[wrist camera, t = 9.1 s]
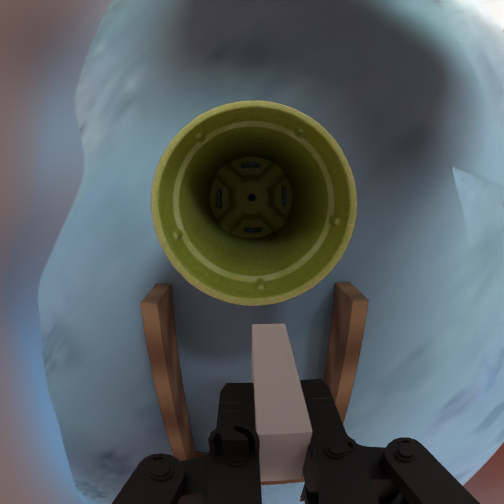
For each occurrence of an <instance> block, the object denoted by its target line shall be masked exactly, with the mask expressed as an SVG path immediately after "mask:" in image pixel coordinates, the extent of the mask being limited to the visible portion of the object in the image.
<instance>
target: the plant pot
mask: <svg viewBox="0 0 504 504" xmlns="http://www.w3.org/2000/svg"><path fill="white" fill-rule="evenodd" d="M251 162H255V163H259V165H260V166H259V168H256V167H245V168H241V167H240V166H241V165H242V164H243V163H244V164H246V163H251ZM282 187H283V188H285V190H286V194H287V203H286V204H285V205H282V204H281V202H282ZM219 189H220V190H221V191H222V193H221V203H222V208H221V209H220V208H219V207H218V206H217V204H216V194H217V191H218V190H219ZM250 194H253V195H255V197H256V199H255V200H254V201H250V200H249V199H248V197H249V195H250ZM151 210H152V218H153V223H154V228H155V231H156V235H157V238H158V240H159V243H160V245H161V247H162V249H163V251H164V253H165V254H166V256H167V258H168V259H169V261H170V262H171V264H172V265H173V266H174V267H175V269H176V270H177V271H178V272H179V273H180V274H181V275H182V276H183V277H184V278H185V279H186V280H187V281H188V282H189V283H190V284H191V285H193V286H194V287H196V288H197V289H199V290H200V291H202V292H204V293H205V294H207V295H209V296H211V297H214V298H216V299H219V300H222V301H225V302H229V303H233V304H237V305H246V306H258V305H270V304H275V303H280V302H283V301H286V300H289V299H292V298H294V297H296V296H298V295H301V294H302V293H304V292H306V291H308V290H309V289H311V288H313V287H314V286H315V285H317V284H318V283H319V282H320V281H321V280H322V279H324V278H325V277H326V276H327V275H328V274H329V273H330V272H331V271H332V269H333V268H334V267H335V266H336V264H337V263H338V262H339V260H340V259H341V257H342V256H343V254H344V253H345V251H346V249H347V247H348V244H349V242H350V239H351V237H352V234H353V230H354V226H355V221H356V215H357V195H356V186H355V181H354V177H353V173H352V171H351V168H350V165H349V163H348V161H347V159H346V157H345V155H344V153H343V151H342V149H341V148H340V146H339V145H338V143H337V142H336V141H335V139H334V138H333V137H332V136H331V135H330V133H329V132H328V131H327V130H326V129H325V128H323V127H322V126H321V125H320V124H319V123H318V122H316V121H315V120H313V119H312V118H311V117H309V116H307V115H306V114H304V113H302V112H300V111H298V110H296V109H294V108H291V107H289V106H286V105H283V104H279V103H275V102H269V101H258V100H256V101H239V102H233V103H229V104H225V105H222V106H219V107H216V108H213V109H211V110H209V111H207V112H205V113H203V114H201V115H199V116H198V117H196V118H195V119H194V120H192V121H191V122H190V123H188V124H187V125H186V126H185V127H184V128H183V129H182V130H181V131H180V132H178V134H177V135H176V136H175V137H174V138H173V139H172V141H171V142H170V143H169V145H168V147H167V148H166V150H165V151H164V153H163V155H162V157H161V159H160V161H159V163H158V166H157V169H156V172H155V175H154V179H153V184H152V192H151ZM258 227H262V228H263V229H262V231H260V232H252V233H250V232H246V231H245V229H244V228H258Z"/></svg>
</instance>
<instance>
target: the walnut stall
mask: <svg viewBox="0 0 504 504" xmlns="http://www.w3.org/2000/svg"><path fill="white" fill-rule="evenodd" d="M368 301H369V300H368V299H367V298H366V297H365V296H364V295H363V294H362V293H361V292H359V291H358V290H357V289H356V288H355V287H354V286H353V285H352V284H351V283H350V282H341V283H336V285H335V296H334V306H333V315H332V324H331V332H330V340H329V348H328V355H327V362H326V369H325V375H324V381H323V382H324V383H326V384H327V385H328V386H329V388H330V391H331V394H332V398H333V399H334V402H335V406H336V407H337V410H338V412H339V415H340V418H341V421H342V423H344V419H345V415H346V411H347V408H348V404H349V400H350V396H351V392H352V387H353V383H354V379H355V374H356V370H357V365H358V360H359V355H360V350H361V344H362V339H363V333H364V327H365V321H366V315H367V308H368ZM141 311H142V318H143V324H144V331H145V337H146V343H147V348H148V354H149V359H150V364H151V369H152V374H153V379H154V383H155V388H156V392H157V397H158V401H159V405H160V409H161V413H162V417H163V421H164V425H165V428H166V432H167V435H168V439H169V442H170V446H171V449H172V452H173V456H174V457H175V458H177V459H178V460H179V461H183V460H190V459H195V458H199V457H201V456H203V455H205V454H207V453H202V452H195V448H194V443H193V438H192V433H191V428H190V423H189V418H188V412H187V407H186V401H185V395H184V389H183V383H182V376H181V370H180V363H179V355H178V348H177V340H176V332H175V323H174V314H173V304H172V293H171V284H156V285H155V286H154V287H153V289H152V290H151V291H150V292H149V293H148V295H147V296H146V297H145V298H144V299H143V301H142V302H141ZM295 482H304V476H303V474H302V478H301V479H296V480H283V481H264V482H261V485H269V484H284V483H295Z"/></svg>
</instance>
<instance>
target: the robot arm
mask: <svg viewBox="0 0 504 504" xmlns="http://www.w3.org/2000/svg"><path fill="white" fill-rule="evenodd" d="M218 410H219V411H218V419H217V428H216V429H215V430H213V431H212V432H211V434H210V436H209V439H208V441H209V447H210V451H209V452H208V453H207V454H205V455H203V456H201V457H199V458H195V459H190V460H183V461H179V460H178V459H177V458H175V457H173V456H171V455H168V454H162V453H161V454H153V455H150V456H148V457H146V458H144V459H143V460H142V461H141V462H140V463H139V465H138V466H137V468H136V469H135V471H134V472H133V474H132V475H131V477H130V478H129V479H128V481H127V482H126V484H125V485H124V487H123V488H122V490H121V491H120V493H119V494H118V495H117V497H116V498H115V500H114V501H113V503H112V504H262V497H261V482H264V481H283V480H296V479H301V478H302V474H303V476H304V481H305V484H304V487H303V491H302V494H301V499H300V501H305V504H480V503H479V502H478V501H477V500H476V499H475V498H474V497H473V496H472V495H471V494H470V493H469V492H468V491H467V490H466V489H465V488H464V487H463V486H462V485H461V484H460V483H459V482H458V481H457V480H456V479H455V478H454V477H453V476H452V475H451V474H450V473H449V472H448V471H447V470H446V469H445V468H444V467H443V466H442V465H441V464H440V463H439V462H438V461H437V459H436V458H435V457H434V456H433V455H432V454H431V453H430V452H429V451H428V450H427V449H426V448H425V447H424V446H423V445H422V444H421V443H419V442H418V441H417V440H415V439H411V438H398V439H395V440H393V441H391V442H390V443H389V444H388V445H387V447H386V448H382V447H366V446H362V445H359V444H357V443H356V442H355V440H353V439H351V438H350V437H348V436H347V434H346V432H345V429H344V426H343V423H342V421H341V418H340V415H339V412H338V410H337V407H336V406H335V402H334V399H333V398H332V394H331V391H330V388H329V386H328V385H327V384H326V383H324V382H323V381H322V380H321V379H313V380H299V376H298V372H297V368H296V364H295V360H294V356H293V352H292V349H291V345H290V341H289V337H288V333H287V329H286V326H285V324H252V383H226V385H225V386H224V387H223V389H222V390H221V391H220V400H219V409H218Z"/></svg>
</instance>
